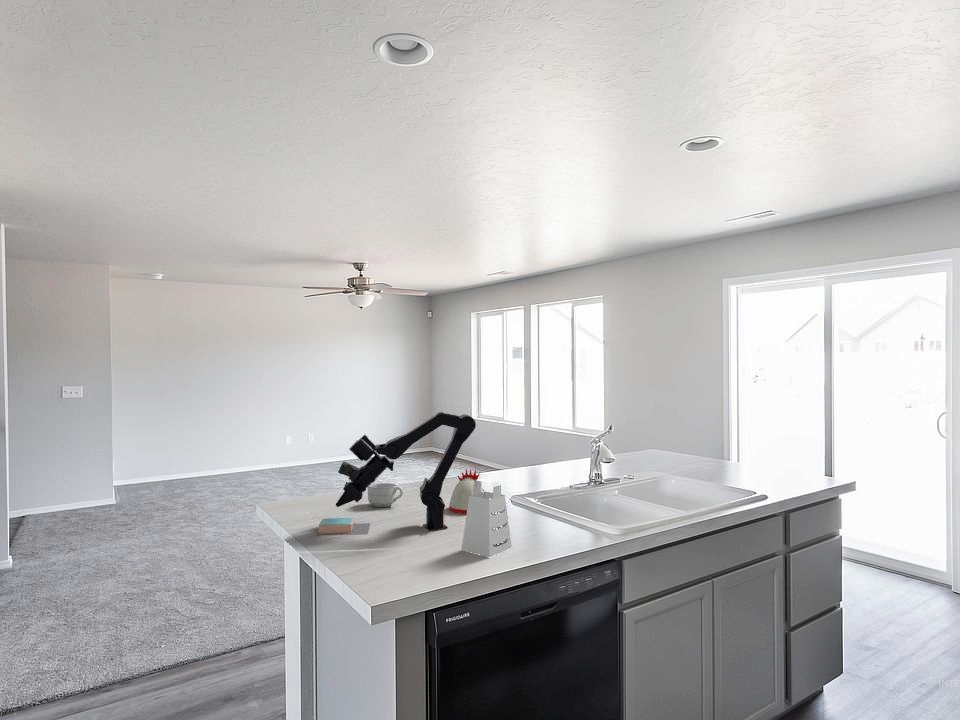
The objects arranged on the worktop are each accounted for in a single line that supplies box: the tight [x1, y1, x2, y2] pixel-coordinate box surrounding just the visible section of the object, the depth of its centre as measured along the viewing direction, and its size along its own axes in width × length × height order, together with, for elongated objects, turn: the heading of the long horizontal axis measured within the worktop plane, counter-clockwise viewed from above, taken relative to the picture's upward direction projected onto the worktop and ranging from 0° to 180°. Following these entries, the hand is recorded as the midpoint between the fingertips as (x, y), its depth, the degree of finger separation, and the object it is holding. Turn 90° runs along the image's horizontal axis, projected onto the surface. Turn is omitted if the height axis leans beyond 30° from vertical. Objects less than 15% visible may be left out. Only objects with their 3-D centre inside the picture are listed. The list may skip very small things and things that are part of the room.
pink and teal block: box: [317, 517, 354, 534], centre depth 183 cm, size 3×8×10 cm
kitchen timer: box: [449, 468, 485, 515], centre depth 211 cm, size 14×14×15 cm
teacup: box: [367, 482, 404, 508], centre depth 215 cm, size 14×11×8 cm
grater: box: [460, 478, 513, 558], centre depth 166 cm, size 10×10×20 cm
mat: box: [315, 522, 371, 537], centre depth 183 cm, size 16×12×1 cm
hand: (336, 505), depth 183 cm, fingers closed
